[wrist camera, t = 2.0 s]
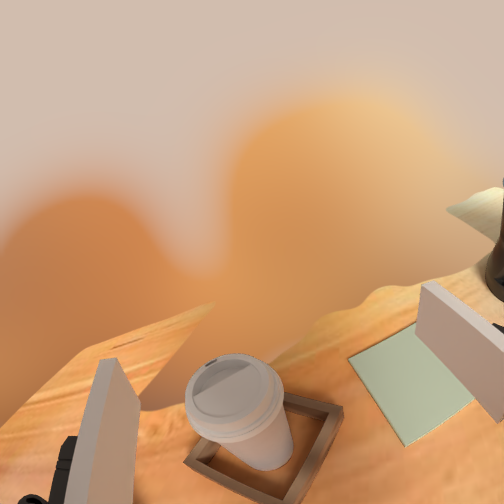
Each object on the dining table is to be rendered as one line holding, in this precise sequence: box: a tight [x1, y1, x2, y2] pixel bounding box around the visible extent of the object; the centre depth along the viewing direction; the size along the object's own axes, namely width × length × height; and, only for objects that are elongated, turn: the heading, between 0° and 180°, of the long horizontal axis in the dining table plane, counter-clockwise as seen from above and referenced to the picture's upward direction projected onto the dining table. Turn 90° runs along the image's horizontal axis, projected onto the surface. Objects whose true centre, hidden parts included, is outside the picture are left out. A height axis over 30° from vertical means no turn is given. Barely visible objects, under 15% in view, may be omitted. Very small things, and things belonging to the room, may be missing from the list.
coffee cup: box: [185, 354, 294, 471], centre depth 29 cm, size 10×10×15 cm
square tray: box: [183, 392, 344, 504], centre depth 32 cm, size 14×14×3 cm
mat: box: [348, 323, 475, 447], centre depth 35 cm, size 16×16×1 cm
